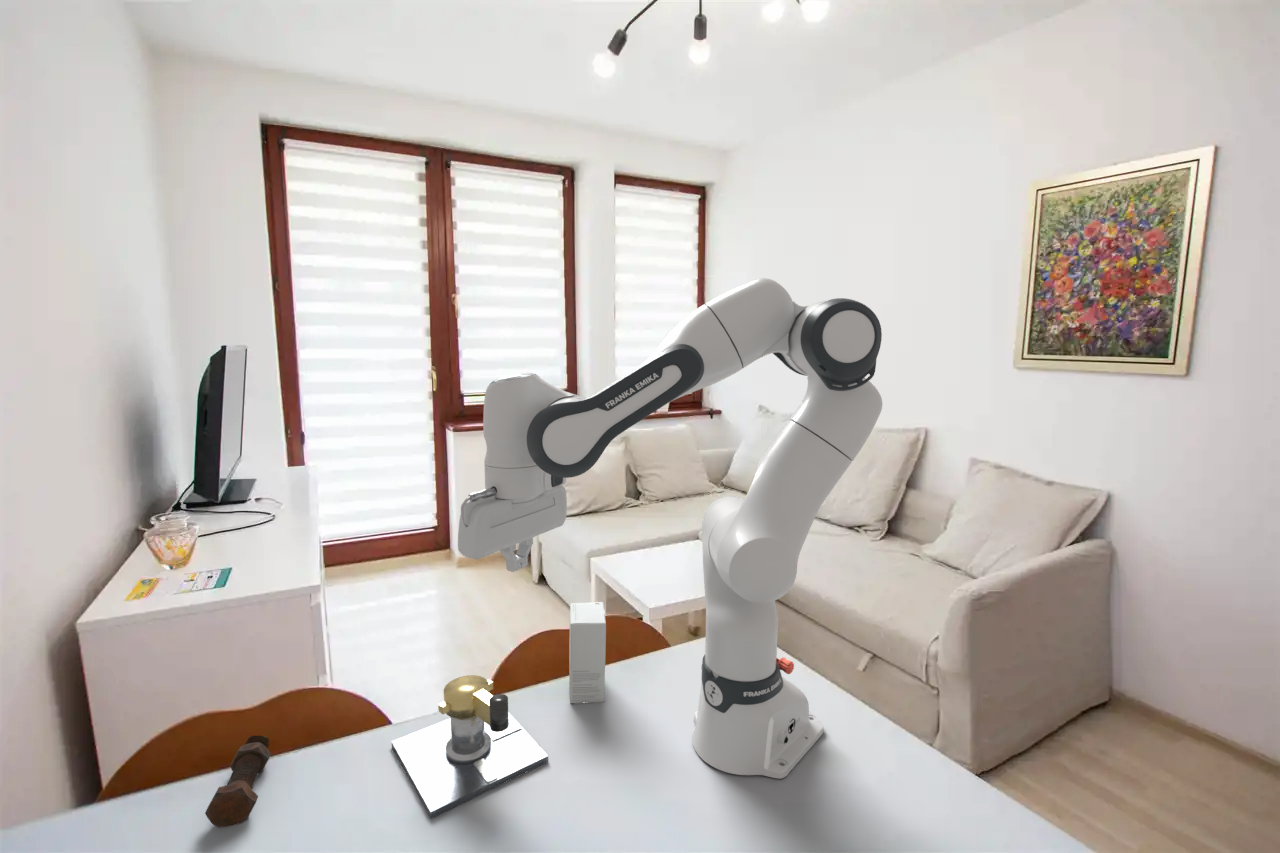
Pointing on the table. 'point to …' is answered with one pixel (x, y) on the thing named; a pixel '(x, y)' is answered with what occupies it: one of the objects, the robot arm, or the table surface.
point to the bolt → (240, 784)
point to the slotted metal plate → (464, 760)
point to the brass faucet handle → (475, 702)
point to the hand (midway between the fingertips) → (517, 568)
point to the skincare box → (587, 652)
